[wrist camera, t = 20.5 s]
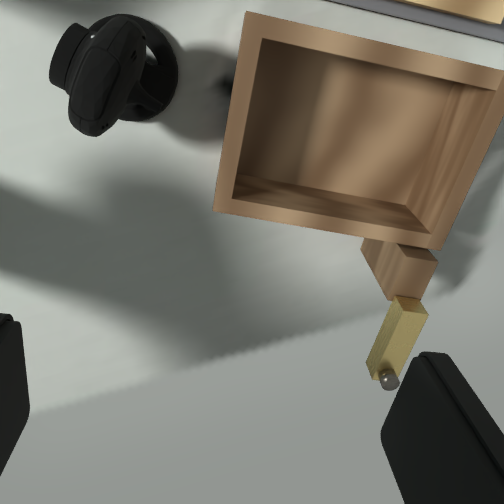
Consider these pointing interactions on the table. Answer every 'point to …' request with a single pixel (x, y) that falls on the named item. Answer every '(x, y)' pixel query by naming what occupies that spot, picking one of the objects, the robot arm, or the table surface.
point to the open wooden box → (356, 141)
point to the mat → (430, 17)
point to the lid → (466, 8)
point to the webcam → (113, 72)
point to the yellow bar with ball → (396, 340)
